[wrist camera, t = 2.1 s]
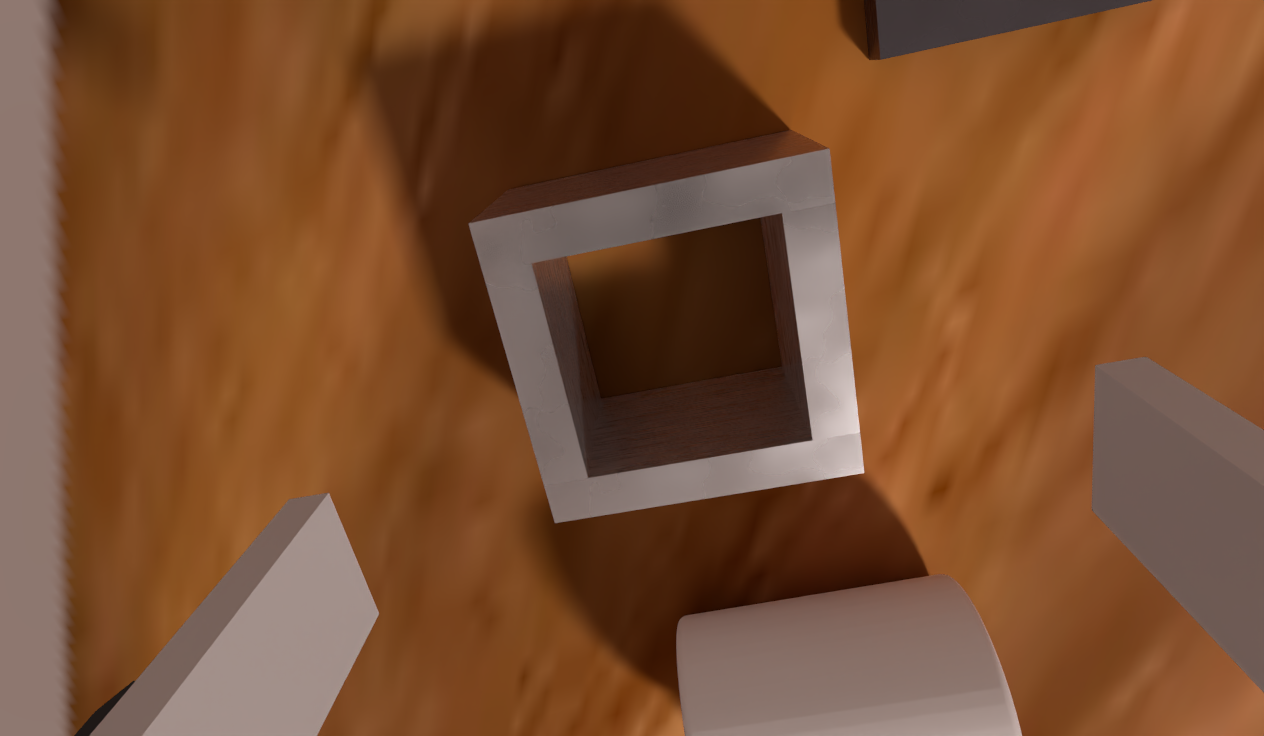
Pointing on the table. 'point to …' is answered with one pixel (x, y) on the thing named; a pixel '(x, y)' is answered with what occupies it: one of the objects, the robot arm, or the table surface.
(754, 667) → the mug
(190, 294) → the table surface
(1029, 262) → the table surface
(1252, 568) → the robot arm
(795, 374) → the link
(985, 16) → the keeper
